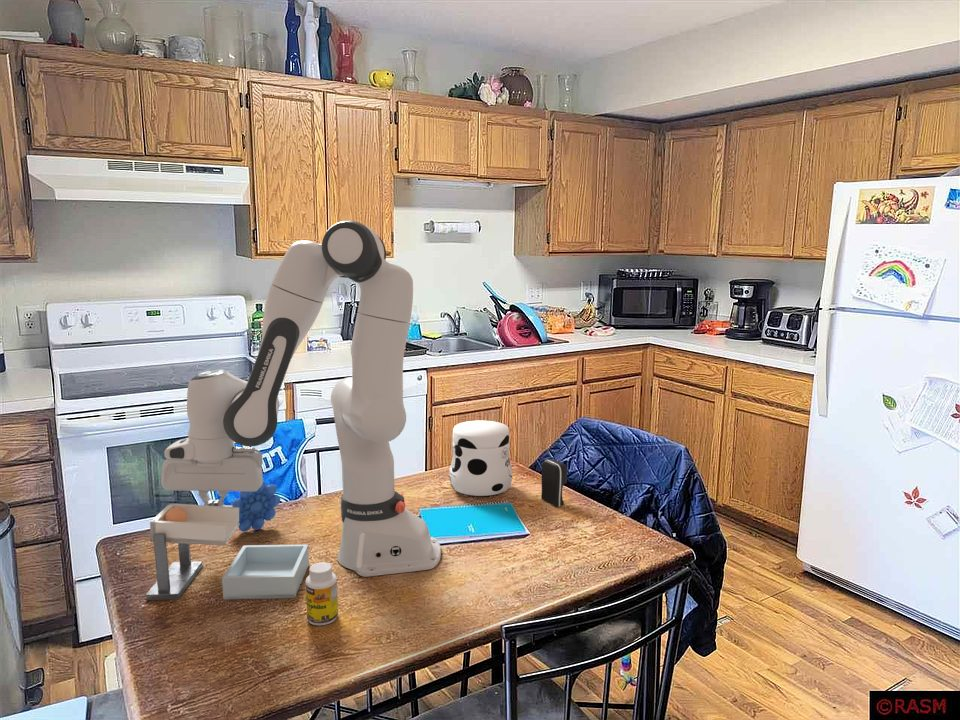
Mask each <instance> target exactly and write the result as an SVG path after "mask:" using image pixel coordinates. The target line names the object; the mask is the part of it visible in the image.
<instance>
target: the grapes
mask: <svg viewBox="0 0 960 720" xmlns="http://www.w3.org/2000/svg"><path fill="white" fill-rule="evenodd" d="M276 493H277V486H276V485H275V484H273V483H272V484H268V485H267V484H266V482H265V481H263V484H262V486H261V487H260V488H259V489H258V490H257V491H255V492H249V491H239V498H236V499H234V500H232V502H231V504H230V505H231V506H233V507H238V508H239V526H238V529H239V531H240V532H243V533H244V532H247V531H249V530H250V529H251V528H252V529H253V530H254V531H258V530H260V529H262V528H263V527H264V525H265V523H266V522H265V521H271V520H273V519H274V518H275V516H276V514H277V512H276V511H277V510H276V509H275V508H276V507H278V506H279V505H280V503H281V497H280V495H278V494H276Z"/></svg>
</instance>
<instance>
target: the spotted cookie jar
mask: <svg viewBox="0 0 960 720" xmlns="http://www.w3.org/2000/svg"><path fill="white" fill-rule="evenodd" d="M510 434H511V433H510V427H508V426H507V424H504V423H502V422H500V421H493V420H479V419H478V420H469V421H464V422H458V423H457V424H456V425H454V427H453V429H452V459H451V462H450V467H449V472H448V473H449V475H448V477H449V483H450V486H451V488H452V490H453V491H454V492H456V493H458V495H461V496H465V497H469V498H476V499H477V498H478V499H479V498H482V499H483V498H484V499H485V498H487V499H488V498H493V497H497V496H500V495H503V494H504V493H505V492H507V491H509V489H510V488H511V485H512V481H513V467H512V465H511V459H510V448H511V447H510V437H511V436H510Z"/></svg>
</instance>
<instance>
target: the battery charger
mask: <svg viewBox="0 0 960 720" xmlns="http://www.w3.org/2000/svg"><path fill="white" fill-rule="evenodd" d="M567 483H568V468H567V465H566V464H565V463H563V462H562V461H559V460H557V459H554V458H551V459H545V460H544V461H543V462H541V495H540V496H541V497H540V499H541V500H542V501H544V502H546V503H548V504H549V505H552V506H554V507H555V508H560V507H562V506H564V505H565V502H564V499H563V488H564V485H565V484H567Z"/></svg>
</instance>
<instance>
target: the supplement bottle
mask: <svg viewBox="0 0 960 720" xmlns="http://www.w3.org/2000/svg"><path fill="white" fill-rule="evenodd" d="M308 569H309V575H308V576H307V577H305V578H306V579H305V601H306V604H305V605H306V619H307V621H308V622H309V624H312V625H313V626H326V625H329V624H331V623H333V622H335V620H336V619H337V618H338V617H339V616H338V615H339V608H338V607H339V604H338V578H337V575H336V574H335V572H333V566H332V564H331V563H329V562H325V561H322V562H317V563H313V564H312V565H311V566H310V567H309V568H308Z"/></svg>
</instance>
